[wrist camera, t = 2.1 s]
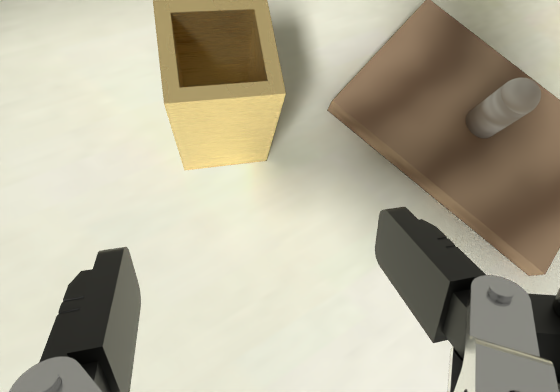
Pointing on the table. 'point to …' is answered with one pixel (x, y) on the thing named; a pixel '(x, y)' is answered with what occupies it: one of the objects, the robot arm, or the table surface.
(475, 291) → the robot arm
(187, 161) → the wooden sleeve
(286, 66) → the table surface
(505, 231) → the post board
